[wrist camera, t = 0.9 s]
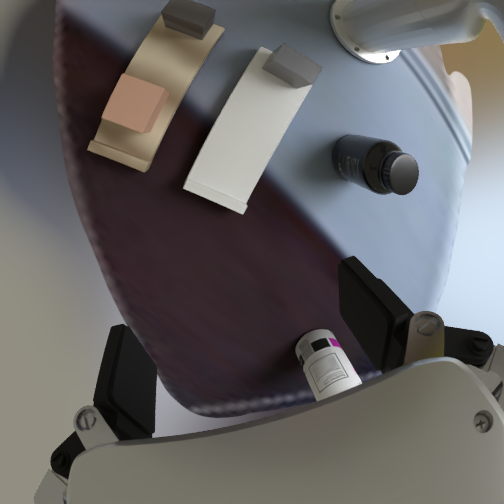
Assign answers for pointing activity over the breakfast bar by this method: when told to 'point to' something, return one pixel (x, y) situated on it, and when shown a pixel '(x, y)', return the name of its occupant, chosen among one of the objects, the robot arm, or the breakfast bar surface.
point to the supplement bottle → (375, 165)
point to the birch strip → (162, 78)
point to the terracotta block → (135, 104)
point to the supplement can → (325, 364)
